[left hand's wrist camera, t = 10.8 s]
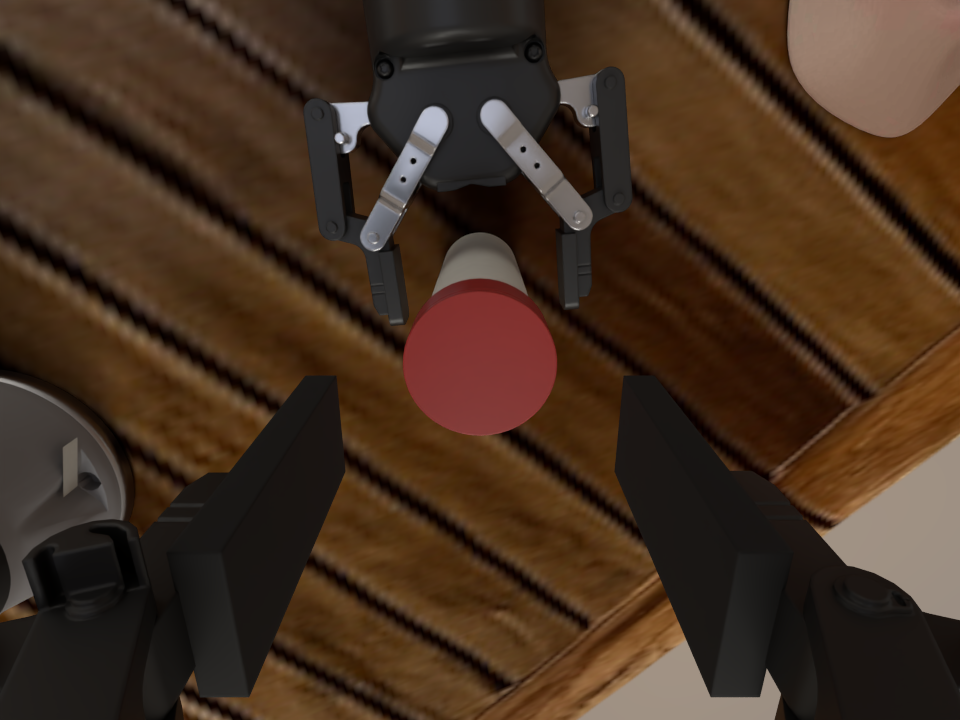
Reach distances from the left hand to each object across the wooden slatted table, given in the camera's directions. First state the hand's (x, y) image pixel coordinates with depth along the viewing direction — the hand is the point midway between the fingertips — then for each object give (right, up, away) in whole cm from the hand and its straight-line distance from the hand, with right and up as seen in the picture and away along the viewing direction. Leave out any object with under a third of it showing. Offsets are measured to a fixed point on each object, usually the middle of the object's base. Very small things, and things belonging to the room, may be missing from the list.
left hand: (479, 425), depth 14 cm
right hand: (0, +4, +14) cm, 15 cm away
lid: (0, +2, +4) cm, 5 cm away
